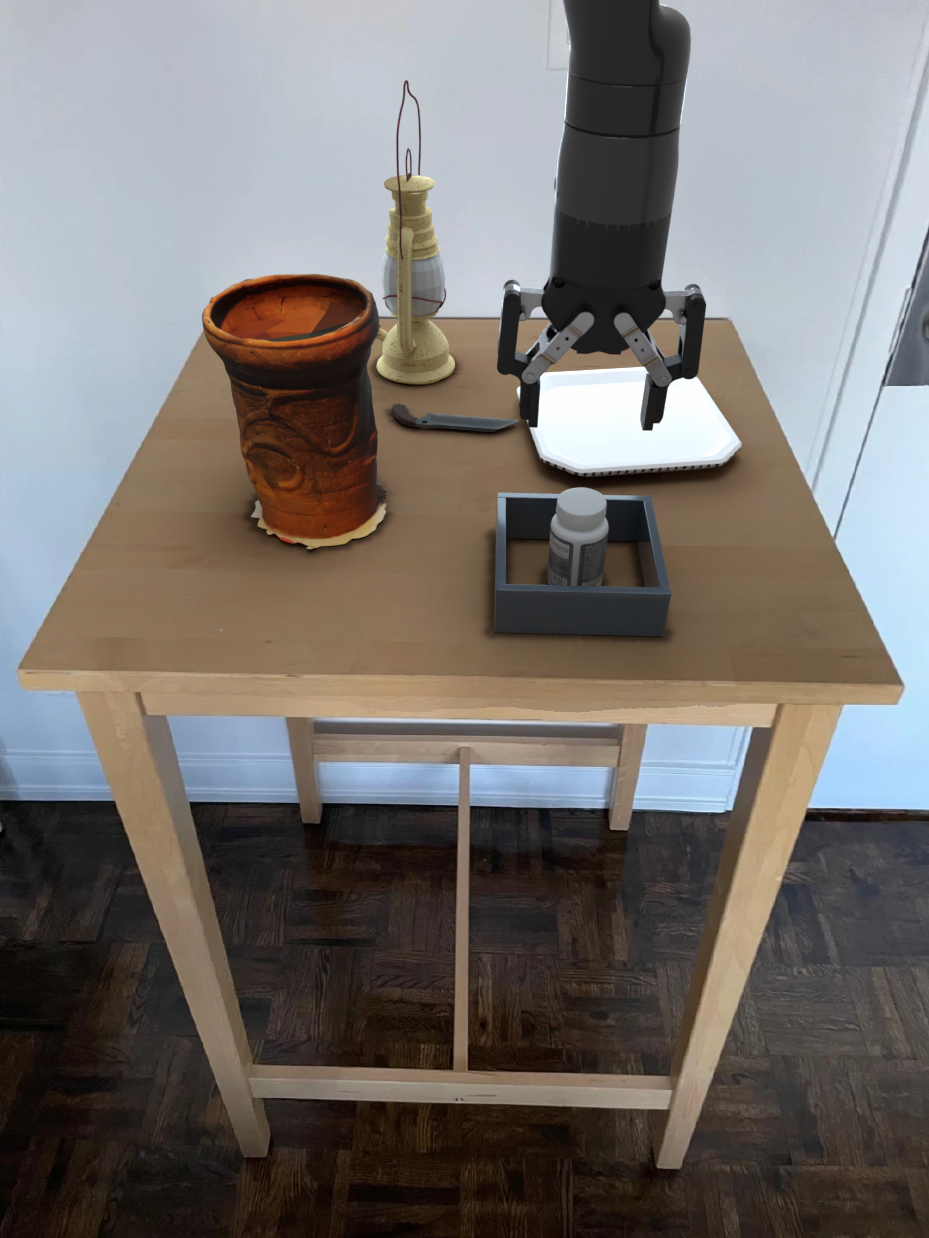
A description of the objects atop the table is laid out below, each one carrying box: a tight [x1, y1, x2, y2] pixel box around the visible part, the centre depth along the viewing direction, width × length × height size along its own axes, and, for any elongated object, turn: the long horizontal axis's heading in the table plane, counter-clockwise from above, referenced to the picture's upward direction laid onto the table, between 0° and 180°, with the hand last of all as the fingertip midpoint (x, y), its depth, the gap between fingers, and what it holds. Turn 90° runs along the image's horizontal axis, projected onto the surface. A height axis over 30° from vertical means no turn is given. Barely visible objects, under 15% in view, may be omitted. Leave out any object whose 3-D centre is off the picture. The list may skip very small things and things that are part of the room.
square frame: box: [493, 492, 672, 638], centre depth 80 cm, size 14×14×4 cm
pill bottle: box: [546, 487, 609, 586], centre depth 78 cm, size 5×5×8 cm
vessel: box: [201, 273, 388, 550], centre depth 83 cm, size 14×14×20 cm
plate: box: [516, 366, 742, 478], centre depth 99 cm, size 21×21×2 cm
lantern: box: [375, 79, 456, 385], centre depth 101 cm, size 12×10×30 cm
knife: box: [390, 403, 520, 433], centre depth 101 cm, size 14×4×1 cm, turn 81°
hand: (589, 424), depth 71 cm, fingers open, 8 cm apart
